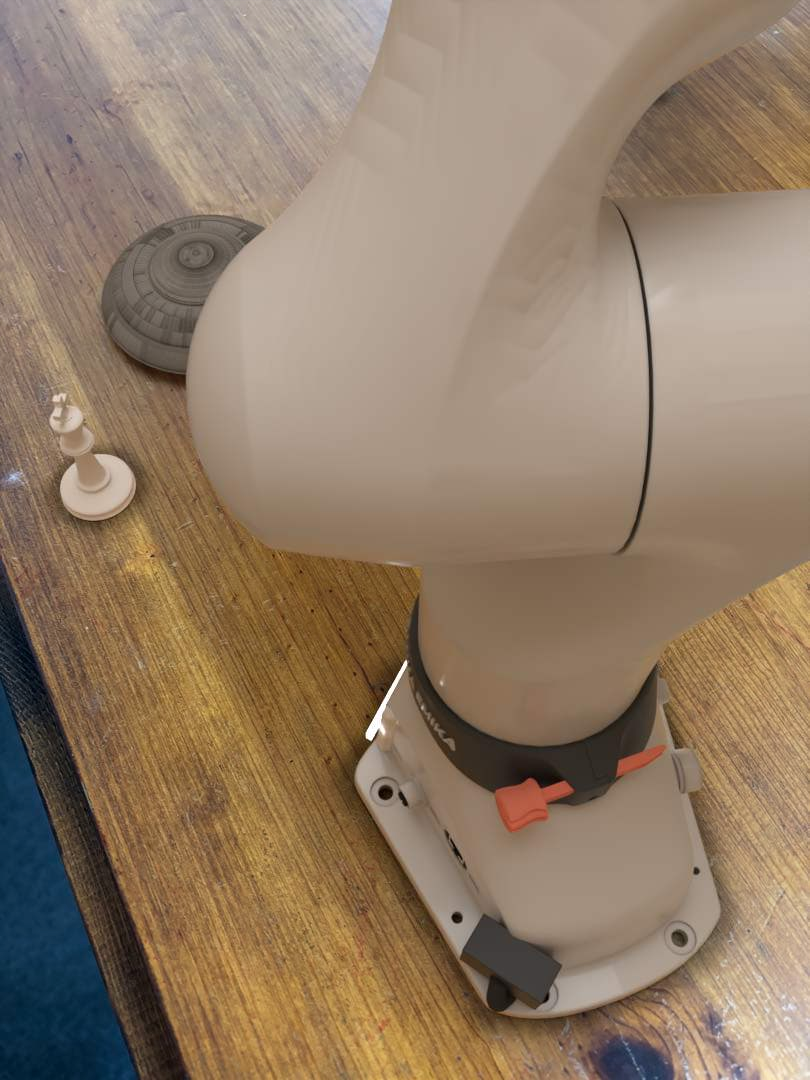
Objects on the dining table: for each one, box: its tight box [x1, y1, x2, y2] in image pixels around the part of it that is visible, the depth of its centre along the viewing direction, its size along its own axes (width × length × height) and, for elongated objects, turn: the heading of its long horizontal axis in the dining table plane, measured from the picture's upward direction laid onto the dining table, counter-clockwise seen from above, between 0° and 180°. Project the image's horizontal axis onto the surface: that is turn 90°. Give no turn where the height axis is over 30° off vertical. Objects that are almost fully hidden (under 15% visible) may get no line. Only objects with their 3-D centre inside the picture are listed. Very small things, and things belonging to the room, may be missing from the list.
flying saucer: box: [100, 214, 267, 375], centre depth 76 cm, size 15×15×6 cm
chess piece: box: [48, 392, 137, 522], centre depth 66 cm, size 5×5×10 cm
